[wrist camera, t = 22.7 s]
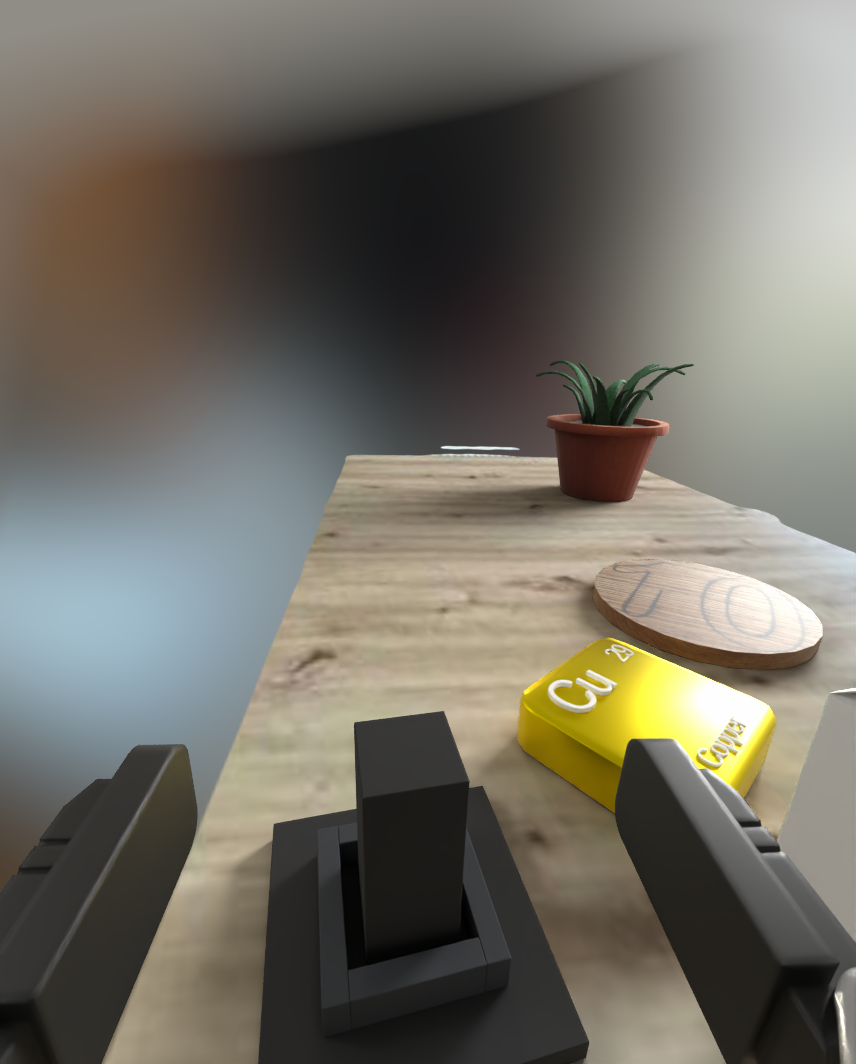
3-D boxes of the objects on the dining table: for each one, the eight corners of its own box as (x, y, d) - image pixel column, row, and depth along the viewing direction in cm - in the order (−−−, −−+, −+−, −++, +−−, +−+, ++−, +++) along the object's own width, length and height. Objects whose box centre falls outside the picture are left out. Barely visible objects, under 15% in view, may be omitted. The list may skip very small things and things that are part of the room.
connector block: (366, 973, 24) (362, 799, 20) (358, 879, 28) (353, 721, 24) (458, 951, 25) (470, 781, 21) (437, 864, 29) (444, 710, 25)
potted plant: (502, 489, 119) (512, 358, 109) (558, 469, 143) (570, 360, 133) (651, 518, 99) (679, 361, 89) (687, 490, 123) (713, 364, 113)
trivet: (574, 629, 57) (576, 614, 56) (608, 558, 78) (610, 547, 77) (843, 699, 46) (849, 682, 45) (798, 595, 67) (802, 582, 66)
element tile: (702, 877, 30) (719, 817, 28) (505, 741, 40) (510, 692, 38) (770, 752, 39) (786, 703, 38) (598, 669, 50) (605, 627, 48)
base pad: (255, 1168, 19) (247, 1122, 18) (275, 837, 31) (271, 799, 30) (586, 1058, 22) (596, 1014, 21) (481, 798, 35) (484, 762, 34)
